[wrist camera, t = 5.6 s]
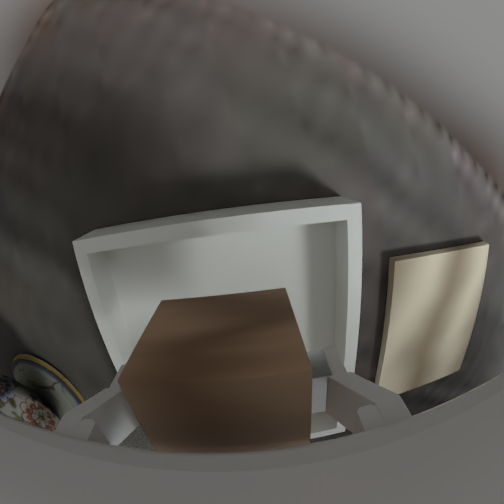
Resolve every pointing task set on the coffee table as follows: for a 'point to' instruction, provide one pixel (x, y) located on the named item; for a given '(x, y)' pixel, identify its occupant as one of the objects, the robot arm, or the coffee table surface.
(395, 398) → the robot arm
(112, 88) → the coffee table surface
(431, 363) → the birch pad
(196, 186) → the coffee table surface
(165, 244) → the parts tray
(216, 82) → the coffee table surface
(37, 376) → the apothecary jar
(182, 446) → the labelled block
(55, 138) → the coffee table surface
